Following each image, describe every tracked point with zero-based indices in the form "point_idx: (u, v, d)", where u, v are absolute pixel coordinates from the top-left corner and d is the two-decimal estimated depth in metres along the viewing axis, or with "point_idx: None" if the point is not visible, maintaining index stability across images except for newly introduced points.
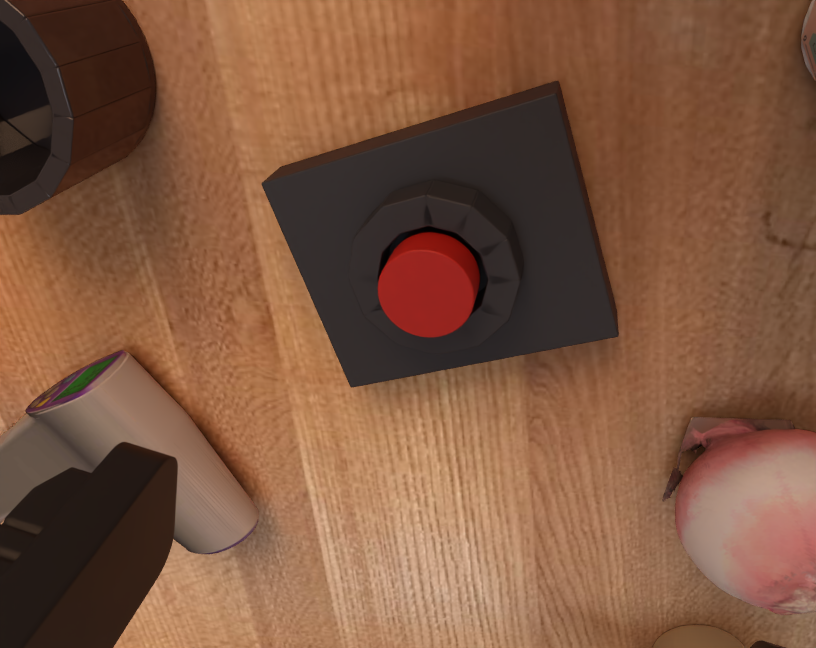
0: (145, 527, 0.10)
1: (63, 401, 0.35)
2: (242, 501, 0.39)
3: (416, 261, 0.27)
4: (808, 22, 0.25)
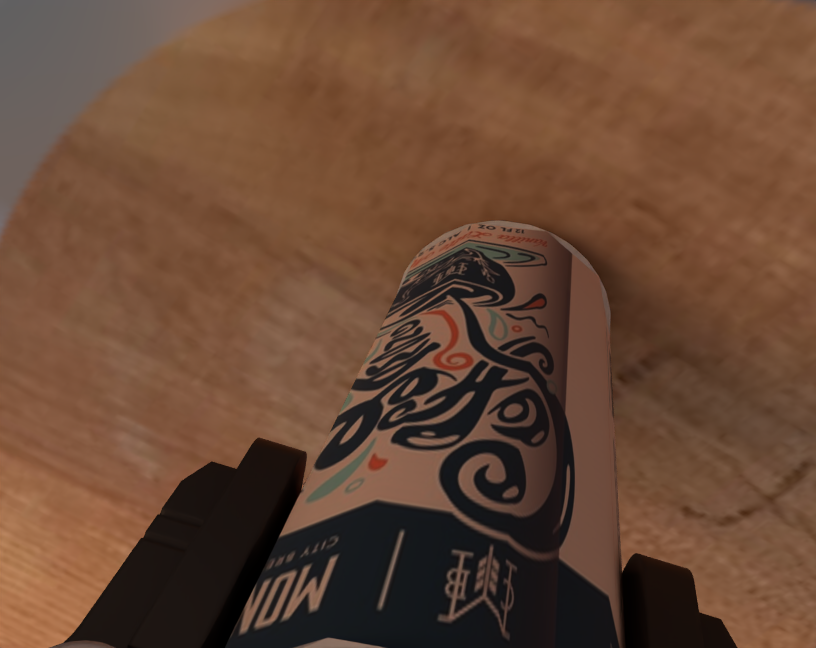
0: (283, 517, 0.10)
1: None
2: None
3: None
4: None
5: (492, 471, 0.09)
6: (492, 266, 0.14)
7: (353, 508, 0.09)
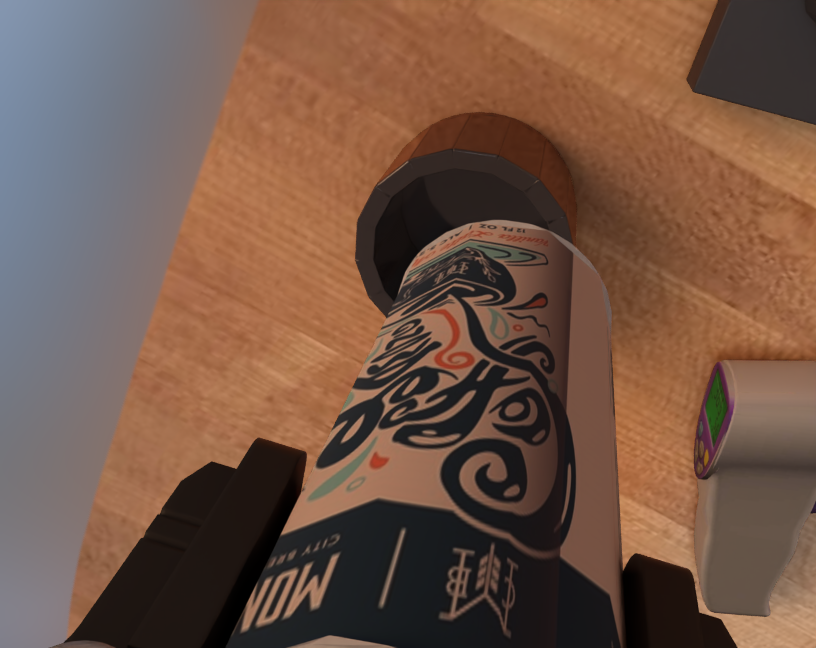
0: (283, 517, 0.10)
1: (725, 429, 0.33)
2: None
3: None
4: None
5: (493, 470, 0.09)
6: (493, 265, 0.14)
7: (355, 507, 0.09)
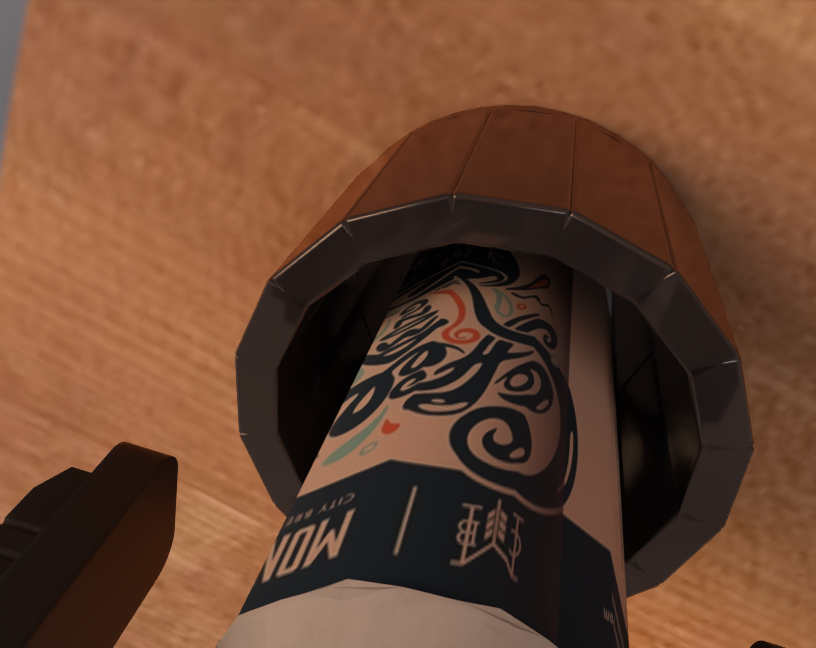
0: (145, 526, 0.10)
1: None
2: None
3: None
4: None
5: (500, 434, 0.09)
6: (497, 249, 0.14)
7: (368, 468, 0.09)
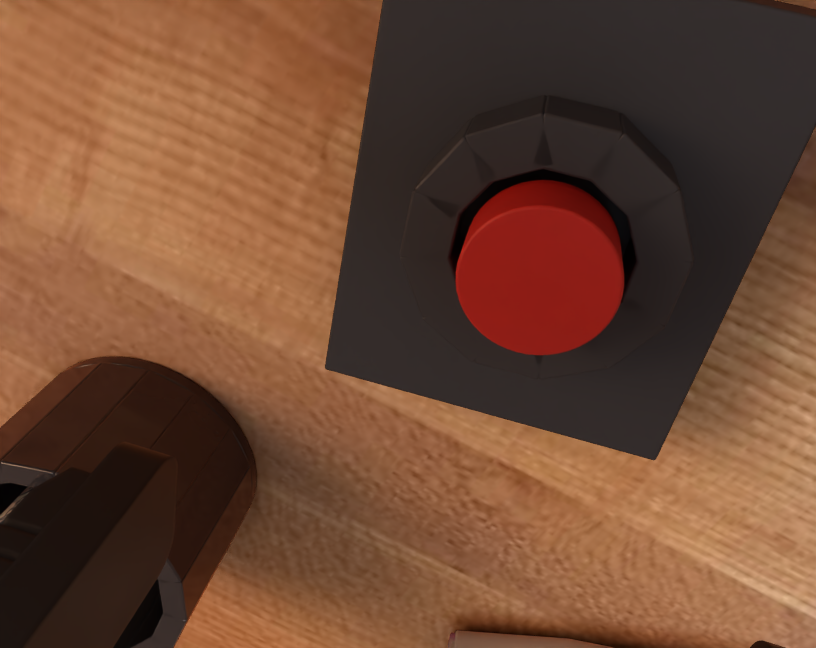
0: (145, 527, 0.10)
1: None
2: None
3: (478, 263, 0.16)
4: None
5: None
6: None
7: None
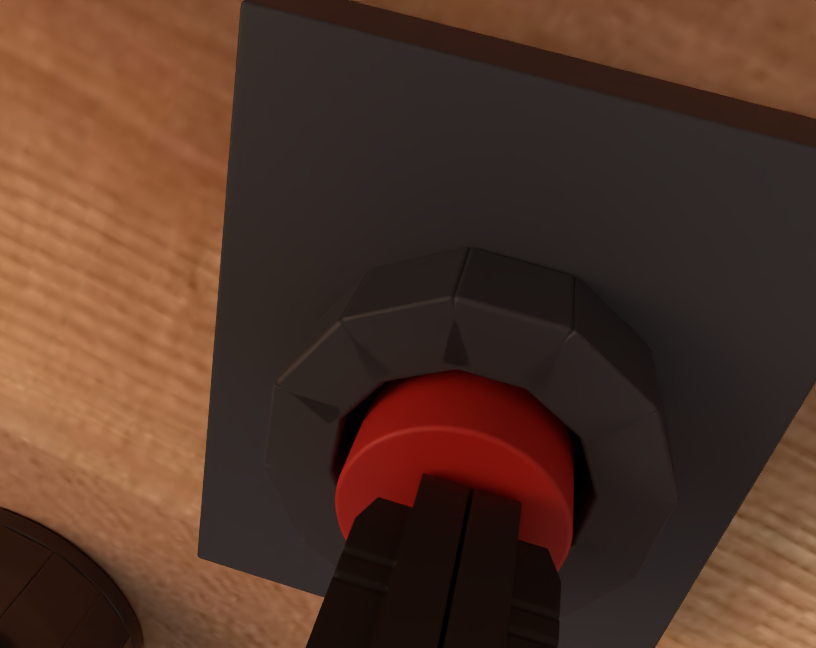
0: None
1: None
2: None
3: (364, 492, 0.11)
4: None
5: None
6: None
7: None
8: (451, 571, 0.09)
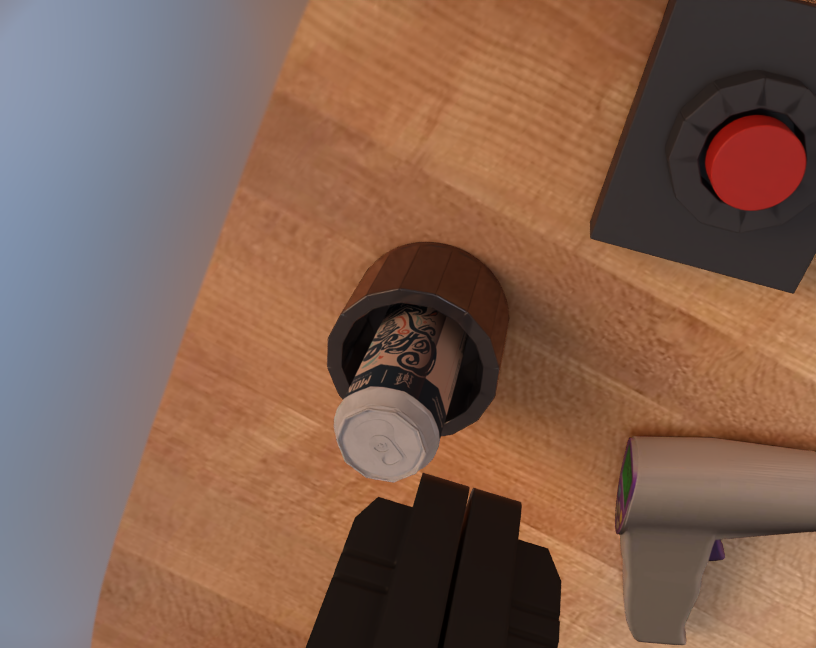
0: None
1: (630, 497, 0.41)
2: None
3: (726, 157, 0.30)
4: None
5: (410, 358, 0.34)
6: None
7: (374, 366, 0.34)
8: (451, 571, 0.09)
